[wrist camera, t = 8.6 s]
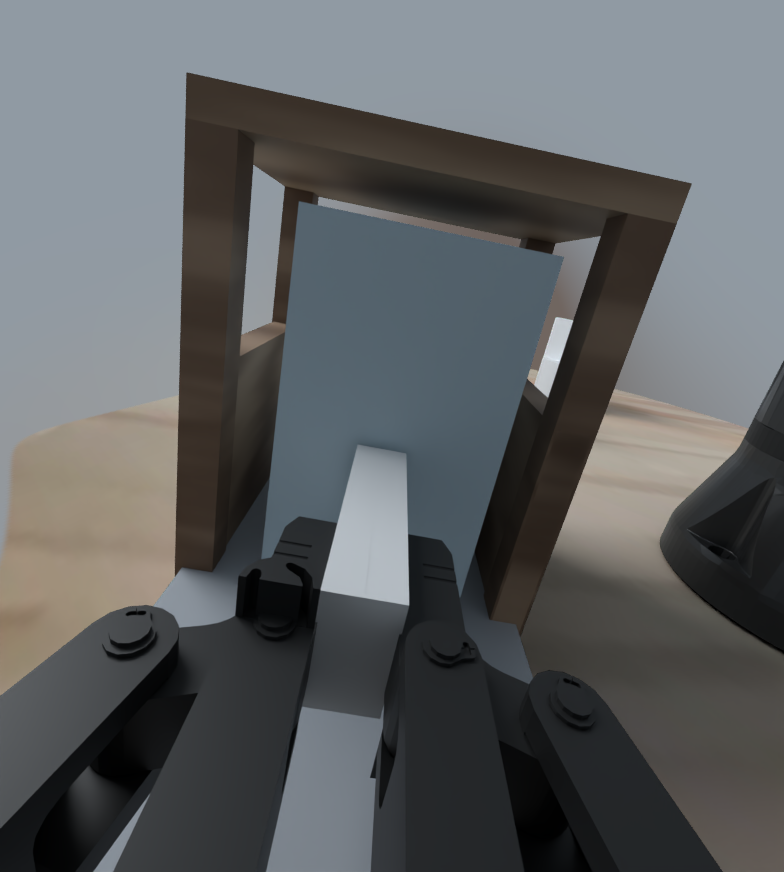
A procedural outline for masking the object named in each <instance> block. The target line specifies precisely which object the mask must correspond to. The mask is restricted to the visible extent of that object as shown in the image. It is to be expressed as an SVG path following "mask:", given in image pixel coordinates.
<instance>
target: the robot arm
mask: <svg viewBox="0 0 784 872" xmlns="http://www.w3.org/2000/svg"><path fill="white" fill-rule="evenodd" d="M660 547H661V550H662V553H663V555H664V557H665V558H666V560H667V562H668V563H669V564H670V566H671V567H672V568H673V569H674V571H675V572H676V573H677V574H678V575H679V576H680V577H681V578H682V579H683V580H684V581H685V582H686V583H687V584H688V585H689V586H690V587H691V588H692V589H693V590H694V591H696V592H697V593H698V594H699V595H700V596H701V597H703V598H704V599H705V600H706V601H708V602H709V603H710V604H711V605H713V606H714V607H715V608H717V609H718V610H719V611H721V612H722V613H724V614H725V615H726V616H728V617H729V618H731V619H732V620H734V621H735V622H737V623H738V624H740V625H741V626H743V627H744V628H746V629H748V630H749V631H751V632H752V633H754V634H756V635H757V636H759V637H761V638H762V639H764V640H766V641H767V642H769V643H771V644H773V645H774V646H776V647H778V648H780V649H782V650H784V361H783V363H782V365H781V367H780V369H779V371H778V373H777V375H776V377H775V378H774V380H773V382H772V384H771V386H770V388H769V390H768V392H767V394H766V396H765V398H764V399H763V401H762V403H761V405H760V408H759V409H758V411H757V413H756V415H755V418H754V420H753V422H752V424H751V425H750V427H749V429H748V431H747V433H746V435H745V437H744V439H743V441H742V443H741V444H740V446H739V448H738V449H737V450H736V452H735V453H734V454H733V455H732V456H731V457H730V458H729V459H727V460H726V461H725V462H724V463H723V464H722V465H721V466H720V467H719V468H718V469H717V470H716V471H715V472H714V473H713V474H712V475H711V476H709V477H708V478H707V479H706V480H705V481H704V482H703V483H702V484H701V485H700V486H699V487H698V488H697V489H696V490H695V491H694V492H693V493H691V494H690V495H689V496H688V497H687V498H686V499H685V500H684V501H683V502H682V503H681V504H680V505H679V506H678V507H677V508H676V509H675V510H674V512H673V513H672V515H671V517H670V519H669V521H668V523H667V525H666V527H665V529H664V531H663V533H662V535H661V538H660ZM454 569H455V568H454V562H453V557H452V553H451V552H450V551H449V549H448V548H447V547H446V545H445V544H444V543H443V541H442V540H439V539H433V538H427V537H422V536H416V535H410V534H408V514H407V461H406V453H401V452H396V451H391V450H385V449H380V448H375V447H369V446H364V445H357V449H356V453H355V457H354V461H353V465H352V469H351V473H350V476H349V480H348V484H347V488H346V492H345V496H344V500H343V504H342V508H341V512H340V516H339V519H338V523H335V522H329V521H323V520H318V519H312V518H306V517H301V516H299V517H297V518H296V519H295V520H293V521H292V522H291V523H289V524H288V525H286V526H285V528H284V530H283V533H282V535H281V537H280V539H279V543H278V544H277V546H276V548H275V550H274V554H273V555H272V557H270V558H265V559H260V560H258V561H256V562H254V563H252V564H250V565H248V566H246V568H245V569H244V570H243V571H242V572H241V573H240V574H239V576H238V587H237V599H236V611H235V616H233V617H232V618H230V619H227V620H224V621H222V622H219V623H214V624H209V625H201V626H191V627H180V628H179V625H178V623H177V621H176V619H175V617H174V615H172V614H171V613H169V612H168V611H166V610H164V609H163V608H159V607H154V606H149V605H143V606H130V607H126V608H123V609H120V610H116V611H113V612H110V613H109V614H107V615H105V616H104V617H102V618H100V619H99V620H97V621H95V622H94V623H92V624H91V625H90V626H88V627H87V628H86V629H85V630H83V631H82V632H81V633H80V634H78V635H77V636H76V637H74V638H73V639H72V640H71V641H69V642H68V643H67V644H66V645H64V646H63V647H62V648H61V649H59V650H58V651H57V652H55V653H54V654H53V655H52V656H50V657H49V658H48V659H47V660H45V661H44V662H43V663H41V664H40V665H39V666H38V667H36V668H35V669H34V670H33V671H31V672H30V673H29V674H28V675H26V676H25V677H24V678H22V679H21V680H20V681H19V682H17V683H16V684H15V685H14V686H12V687H11V688H10V689H8V690H7V691H6V692H5V693H3V694H2V695H1V696H0V872H93V871H94V870H95V869H96V867H97V866H98V865H99V863H100V862H101V860H102V859H103V858H104V856H105V855H106V854H107V852H108V851H109V849H110V848H111V847H112V845H113V844H114V842H115V841H116V840H117V838H118V837H119V836H120V834H121V833H122V831H123V830H124V829H125V827H126V826H127V825H128V823H129V822H130V820H131V819H132V818H133V816H134V815H135V814H136V812H137V811H138V809H139V808H140V807H141V805H142V804H143V803H144V801H145V800H146V798H147V797H148V796H149V797H148V799H147V802H146V804H145V806H144V808H143V810H142V812H141V814H140V816H139V818H138V820H137V823H136V825H135V827H134V829H133V831H132V833H131V835H130V837H129V839H128V841H127V843H126V846H125V848H124V850H123V852H122V854H121V856H120V858H119V860H118V862H117V864H116V867H115V869H114V871H113V872H266V870H267V865H268V861H269V856H270V852H271V847H272V843H273V838H274V834H275V830H276V825H277V821H278V816H279V812H280V807H281V803H282V798H283V794H284V789H285V785H286V780H287V776H288V771H289V767H290V763H291V758H292V754H293V749H294V745H295V740H296V735H297V729H298V723H299V717H300V713H301V709H302V707H307V708H313V709H320V710H326V711H332V712H339V713H345V714H351V715H358V716H364V717H370V718H377V719H380V717H381V714H382V710H383V706H384V713H383V730H382V733H381V737H380V741H379V745H378V749H377V752H376V756H375V760H374V764H373V768H372V772H371V775H370V778H375V779H376V783H375V801H374V819H373V836H372V854H371V872H723V871H722V870H721V869H720V867H719V866H718V864H717V863H716V861H715V860H714V858H713V857H712V856H711V854H710V853H709V851H708V850H707V848H706V847H705V845H704V844H703V843H702V841H701V840H700V838H699V837H698V835H697V834H696V832H695V831H694V830H693V828H692V827H691V825H690V824H689V822H688V821H687V819H686V818H685V817H684V815H683V814H682V812H681V811H680V809H679V808H678V806H677V805H676V804H675V802H674V801H673V799H672V798H671V796H670V795H669V793H668V792H667V791H666V789H665V788H664V786H663V785H662V783H661V782H660V780H659V779H658V778H657V776H656V775H655V773H654V772H653V770H652V769H651V767H650V766H649V765H648V763H647V762H646V760H645V759H644V757H643V756H642V754H641V753H640V752H639V750H638V749H637V747H636V746H635V744H634V743H633V741H632V740H631V739H630V737H629V736H628V734H627V733H626V731H625V730H624V728H623V727H622V726H621V724H620V723H619V721H618V720H617V718H616V717H615V715H614V714H613V713H612V711H611V710H610V708H609V707H608V705H607V704H606V703H605V702H604V701H603V699H602V698H601V697H600V696H599V695H598V694H597V693H596V691H595V690H594V689H592V688H591V687H589V686H588V685H587V684H585V683H584V682H583V681H581V680H580V679H578V678H576V677H573V676H571V675H569V674H566V673H564V672H558V671H550V670H548V671H545V672H541V673H537V675H536V676H535V677H534V678H533V679H532V680H531V681H530V684H528V683H526V682H523V681H521V680H519V679H517V678H514V677H512V676H510V675H508V674H505V673H503V672H501V671H500V670H498V669H496V668H494V667H492V666H491V665H489V664H488V663H487V662H486V661H484V660H483V659H482V656H481V654H480V652H479V649H478V647H477V644H476V643H475V642H474V641H473V640H472V639H471V638H470V636H469V635H468V634H467V633H466V632H465V626H464V621H463V615H462V609H461V603H460V597H459V591H458V586H457V584H456V582H457V580H456V574H455V572H454ZM149 794H150V795H149Z"/></svg>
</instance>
